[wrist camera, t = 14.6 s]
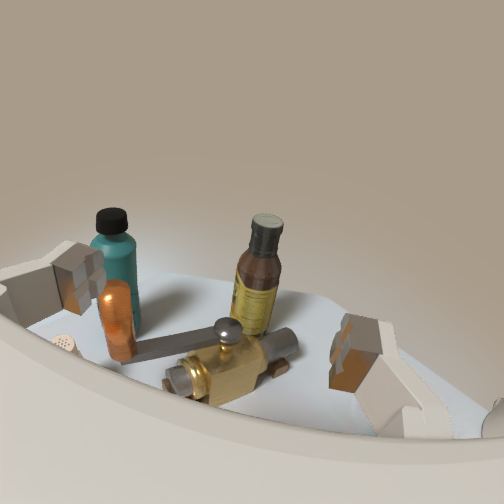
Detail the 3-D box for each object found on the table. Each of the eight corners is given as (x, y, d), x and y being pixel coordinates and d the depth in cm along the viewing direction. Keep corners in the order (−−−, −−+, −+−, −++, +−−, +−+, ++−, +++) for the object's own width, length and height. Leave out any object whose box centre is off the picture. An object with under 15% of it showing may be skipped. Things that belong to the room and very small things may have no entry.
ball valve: (271, 345, 49) (284, 299, 44) (294, 371, 45) (312, 326, 40) (161, 385, 39) (157, 338, 34) (180, 420, 35) (179, 377, 30)
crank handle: (233, 324, 38) (244, 259, 33) (245, 342, 35) (259, 277, 31) (108, 349, 31) (95, 280, 26) (113, 372, 28) (98, 303, 24)
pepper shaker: (99, 396, 35) (83, 350, 30) (73, 407, 32) (51, 362, 27) (87, 375, 37) (71, 327, 32) (62, 385, 34) (42, 337, 30)
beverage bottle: (126, 310, 50) (118, 197, 40) (151, 332, 47) (147, 213, 37) (94, 328, 45) (76, 210, 35) (118, 352, 42) (101, 229, 32)
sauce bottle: (238, 312, 54) (258, 204, 44) (271, 326, 53) (300, 218, 43) (220, 334, 49) (236, 218, 39) (256, 350, 47) (283, 235, 37)
